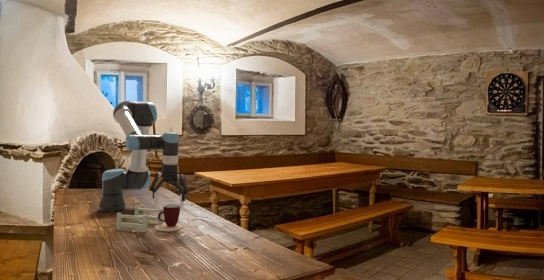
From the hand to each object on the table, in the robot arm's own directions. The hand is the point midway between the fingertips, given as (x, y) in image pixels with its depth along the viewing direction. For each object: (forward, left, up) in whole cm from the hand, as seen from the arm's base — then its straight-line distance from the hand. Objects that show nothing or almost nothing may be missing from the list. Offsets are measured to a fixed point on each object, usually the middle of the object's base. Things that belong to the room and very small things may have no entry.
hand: (168, 206), depth 202 cm
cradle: (-14, -2, -11) cm, 17 cm away
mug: (+1, -1, -10) cm, 10 cm away
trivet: (0, 0, -11) cm, 11 cm away
